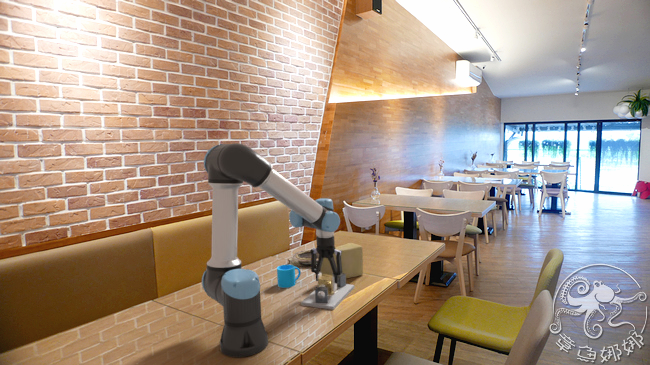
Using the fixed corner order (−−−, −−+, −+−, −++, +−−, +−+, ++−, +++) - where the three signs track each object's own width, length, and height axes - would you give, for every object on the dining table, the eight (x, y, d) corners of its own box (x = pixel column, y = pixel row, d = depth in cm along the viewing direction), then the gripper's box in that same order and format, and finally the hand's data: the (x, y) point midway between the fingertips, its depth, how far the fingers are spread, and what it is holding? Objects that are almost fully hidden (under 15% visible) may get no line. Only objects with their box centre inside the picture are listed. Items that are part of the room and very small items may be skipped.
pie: (317, 252, 226) (317, 244, 225) (347, 263, 204) (347, 254, 204) (277, 262, 209) (276, 253, 208) (305, 275, 187) (305, 265, 187)
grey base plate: (333, 309, 144) (333, 306, 144) (301, 304, 150) (301, 301, 150) (354, 287, 166) (354, 284, 166) (325, 284, 172) (325, 281, 172)
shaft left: (327, 303, 148) (327, 290, 147) (315, 303, 148) (315, 290, 148) (328, 296, 155) (328, 284, 154) (317, 296, 155) (316, 284, 155)
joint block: (337, 288, 161) (336, 275, 160) (331, 294, 156) (331, 280, 155) (324, 287, 163) (323, 274, 163) (318, 292, 158) (317, 278, 157)
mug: (283, 289, 168) (282, 271, 167) (274, 284, 174) (273, 267, 173) (305, 282, 175) (305, 265, 174) (295, 278, 181) (295, 261, 181)
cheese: (327, 286, 169) (326, 254, 167) (315, 281, 176) (313, 250, 175) (364, 275, 182) (363, 245, 180) (350, 270, 189) (350, 241, 188)
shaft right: (338, 282, 170) (337, 271, 169) (346, 285, 166) (345, 273, 166) (327, 287, 165) (327, 275, 164) (335, 289, 161) (335, 278, 161)
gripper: (349, 235, 156) (351, 288, 158) (308, 232, 164) (311, 283, 166) (343, 239, 149) (345, 295, 152) (300, 236, 157) (303, 289, 159)
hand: (327, 289), depth 159 cm, fingers closed on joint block, 6 cm apart
